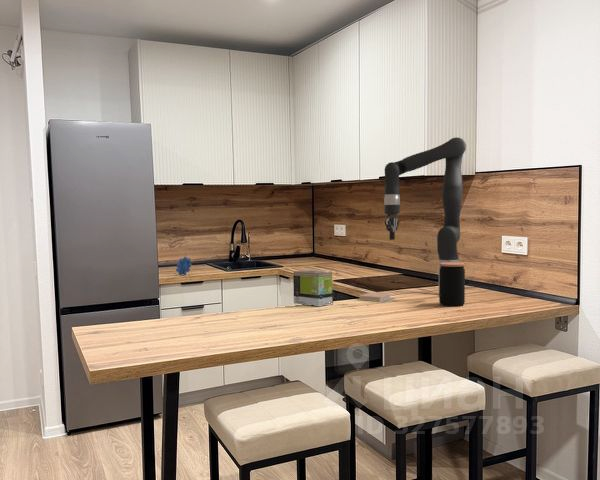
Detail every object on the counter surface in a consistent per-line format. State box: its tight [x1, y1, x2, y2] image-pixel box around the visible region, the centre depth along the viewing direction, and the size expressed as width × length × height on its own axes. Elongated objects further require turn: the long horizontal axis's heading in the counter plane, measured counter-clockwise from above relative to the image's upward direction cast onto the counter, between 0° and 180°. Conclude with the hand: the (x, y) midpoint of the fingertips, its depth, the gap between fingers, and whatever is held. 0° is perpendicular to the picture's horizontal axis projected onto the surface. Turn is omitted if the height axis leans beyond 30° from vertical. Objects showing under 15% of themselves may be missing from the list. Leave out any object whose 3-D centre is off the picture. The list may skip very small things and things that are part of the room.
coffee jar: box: [438, 262, 466, 308], centre depth 244 cm, size 11×11×18 cm
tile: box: [359, 292, 391, 303], centre depth 252 cm, size 10×2×10 cm
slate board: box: [355, 297, 397, 303], centre depth 253 cm, size 14×14×2 cm
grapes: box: [175, 256, 193, 275], centre depth 374 cm, size 12×7×12 cm, turn 134°
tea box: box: [292, 269, 333, 307], centre depth 250 cm, size 15×10×15 cm, turn 47°
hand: (392, 239), depth 275 cm, fingers closed
